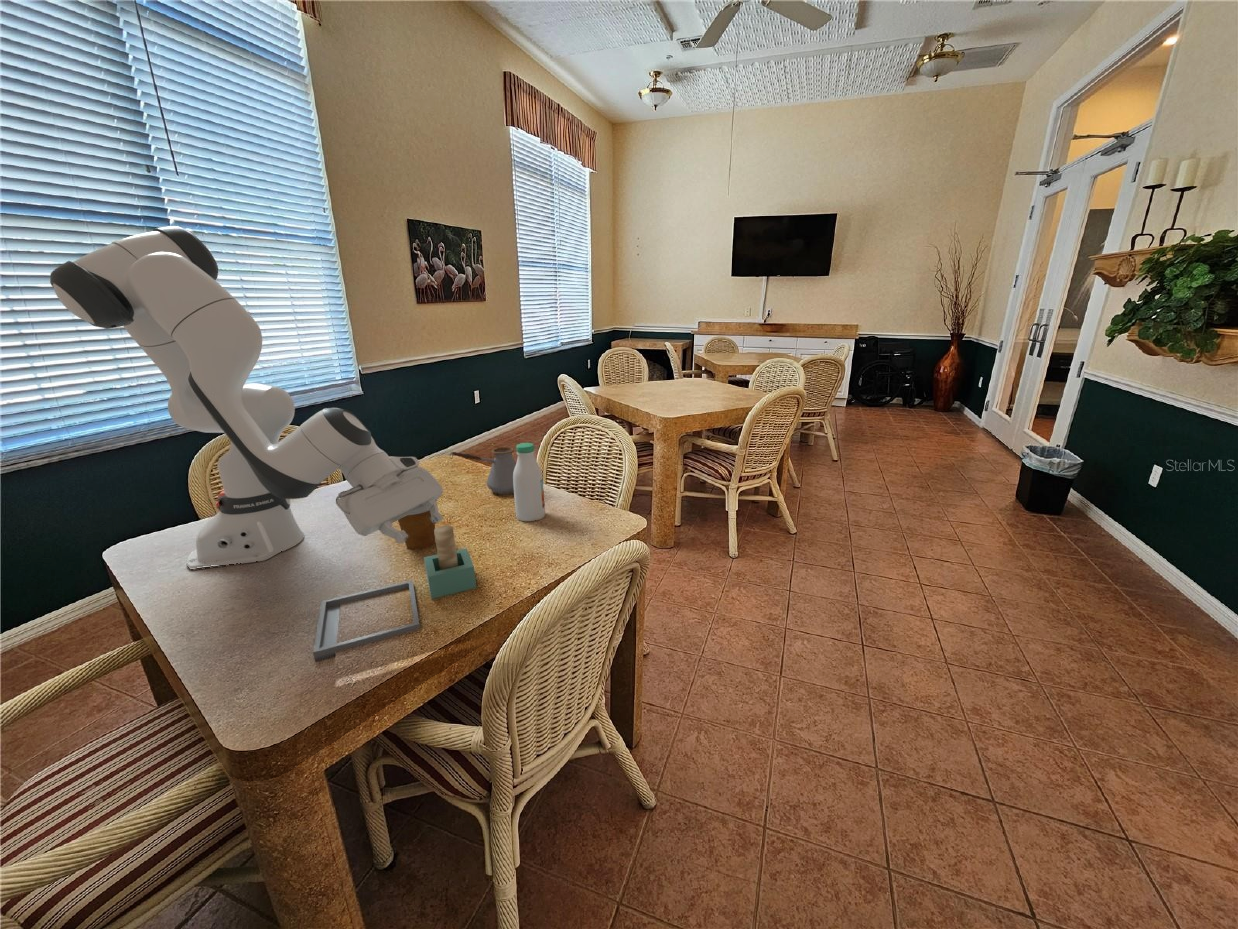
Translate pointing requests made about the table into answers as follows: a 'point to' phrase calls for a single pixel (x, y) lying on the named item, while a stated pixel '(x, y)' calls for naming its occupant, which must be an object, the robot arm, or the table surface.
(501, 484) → the coffee pot
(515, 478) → the milk bottle
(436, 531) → the wooden dowel
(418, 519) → the disposable coffee cup
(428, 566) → the ceramic holder
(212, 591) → the table surface
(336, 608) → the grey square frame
